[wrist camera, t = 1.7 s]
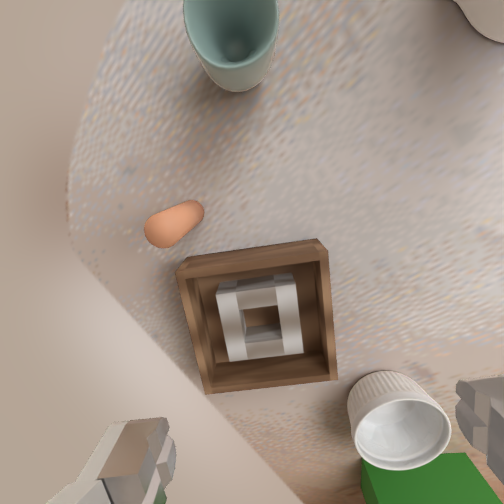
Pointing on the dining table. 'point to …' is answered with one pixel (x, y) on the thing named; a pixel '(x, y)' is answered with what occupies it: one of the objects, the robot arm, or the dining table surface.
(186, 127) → the dining table surface
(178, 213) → the peg
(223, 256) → the box
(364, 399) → the ramekin
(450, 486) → the hardback book
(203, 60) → the cup
